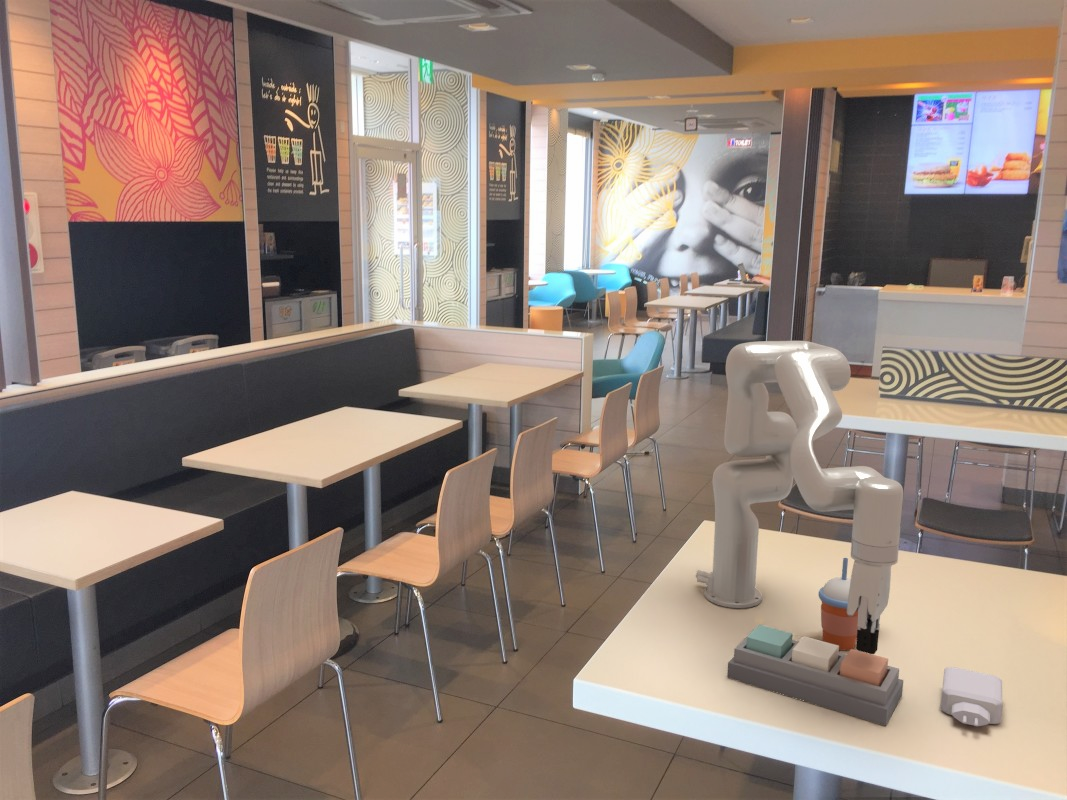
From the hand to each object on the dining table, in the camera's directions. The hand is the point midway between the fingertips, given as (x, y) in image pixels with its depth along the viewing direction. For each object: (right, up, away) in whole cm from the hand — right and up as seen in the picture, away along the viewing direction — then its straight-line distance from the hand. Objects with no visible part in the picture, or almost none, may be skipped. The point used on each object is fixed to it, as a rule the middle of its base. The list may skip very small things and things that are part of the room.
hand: (866, 650), depth 153 cm
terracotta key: (0, -5, +1) cm, 5 cm away
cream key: (-7, -4, +6) cm, 10 cm away
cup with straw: (+3, -6, +24) cm, 24 cm away
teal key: (-14, -3, +11) cm, 18 cm away
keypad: (-7, -8, +7) cm, 13 cm away
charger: (+17, -11, -2) cm, 20 cm away
